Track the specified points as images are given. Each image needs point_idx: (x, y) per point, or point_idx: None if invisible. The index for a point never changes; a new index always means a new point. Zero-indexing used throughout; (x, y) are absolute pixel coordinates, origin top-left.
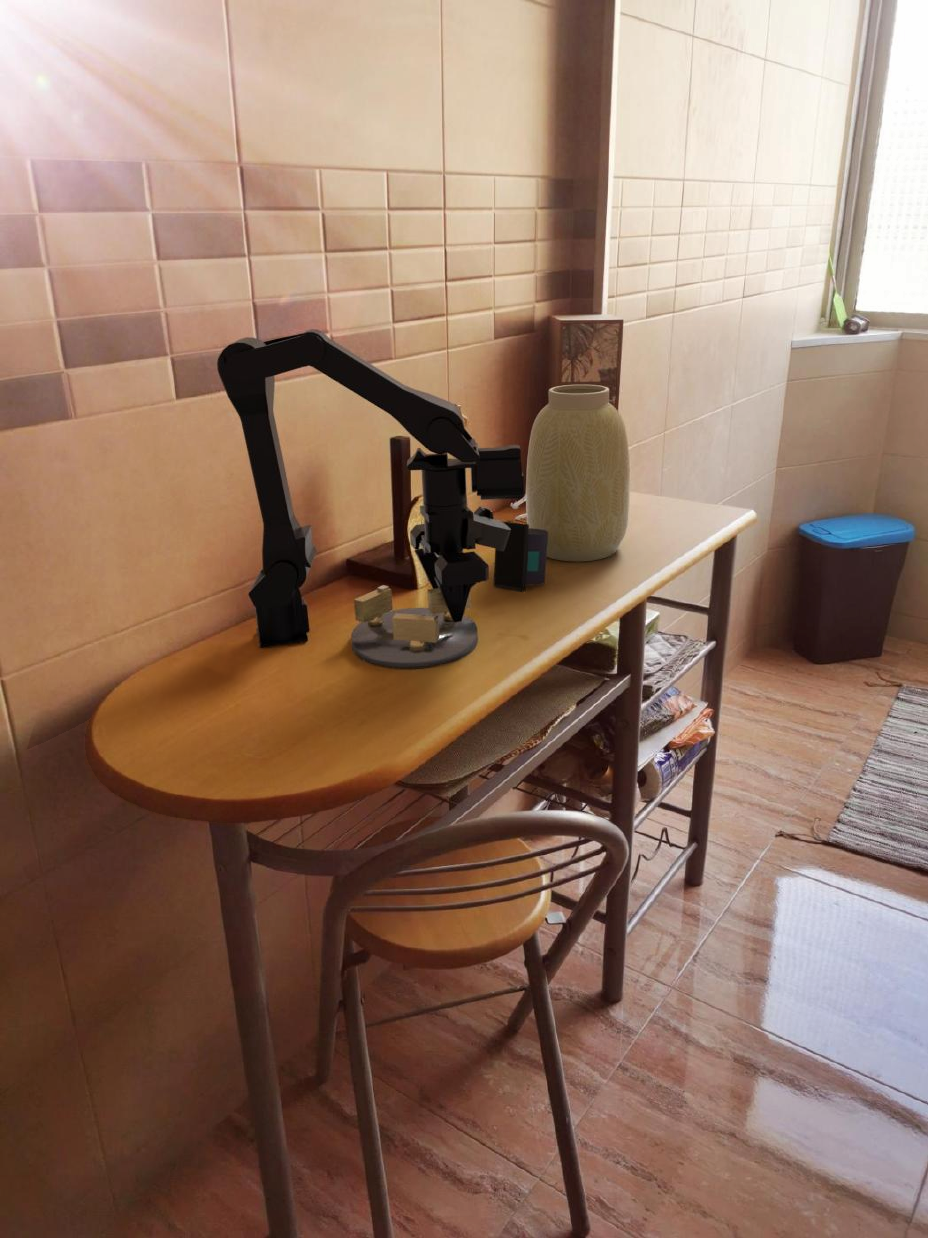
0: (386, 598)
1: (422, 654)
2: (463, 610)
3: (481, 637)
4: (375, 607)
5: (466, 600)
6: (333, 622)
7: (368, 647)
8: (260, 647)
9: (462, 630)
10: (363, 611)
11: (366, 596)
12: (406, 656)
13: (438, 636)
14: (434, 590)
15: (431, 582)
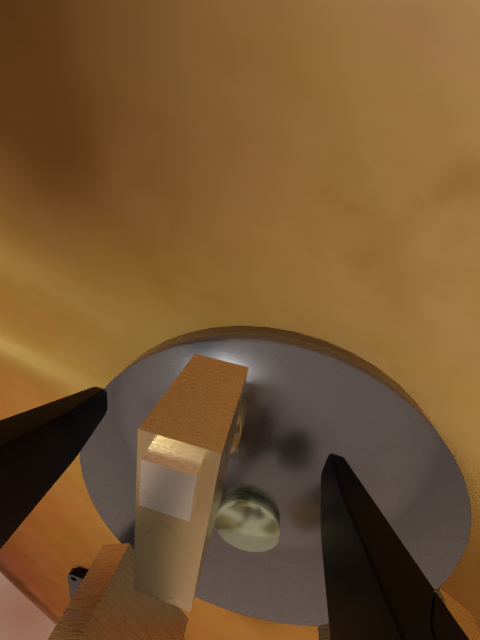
0: (113, 619)
1: None
2: (376, 512)
3: (343, 333)
4: (150, 633)
5: (438, 599)
6: (75, 529)
7: (279, 611)
8: None
9: (333, 419)
10: None
11: None
12: None
13: (450, 604)
14: (155, 580)
15: (29, 509)
